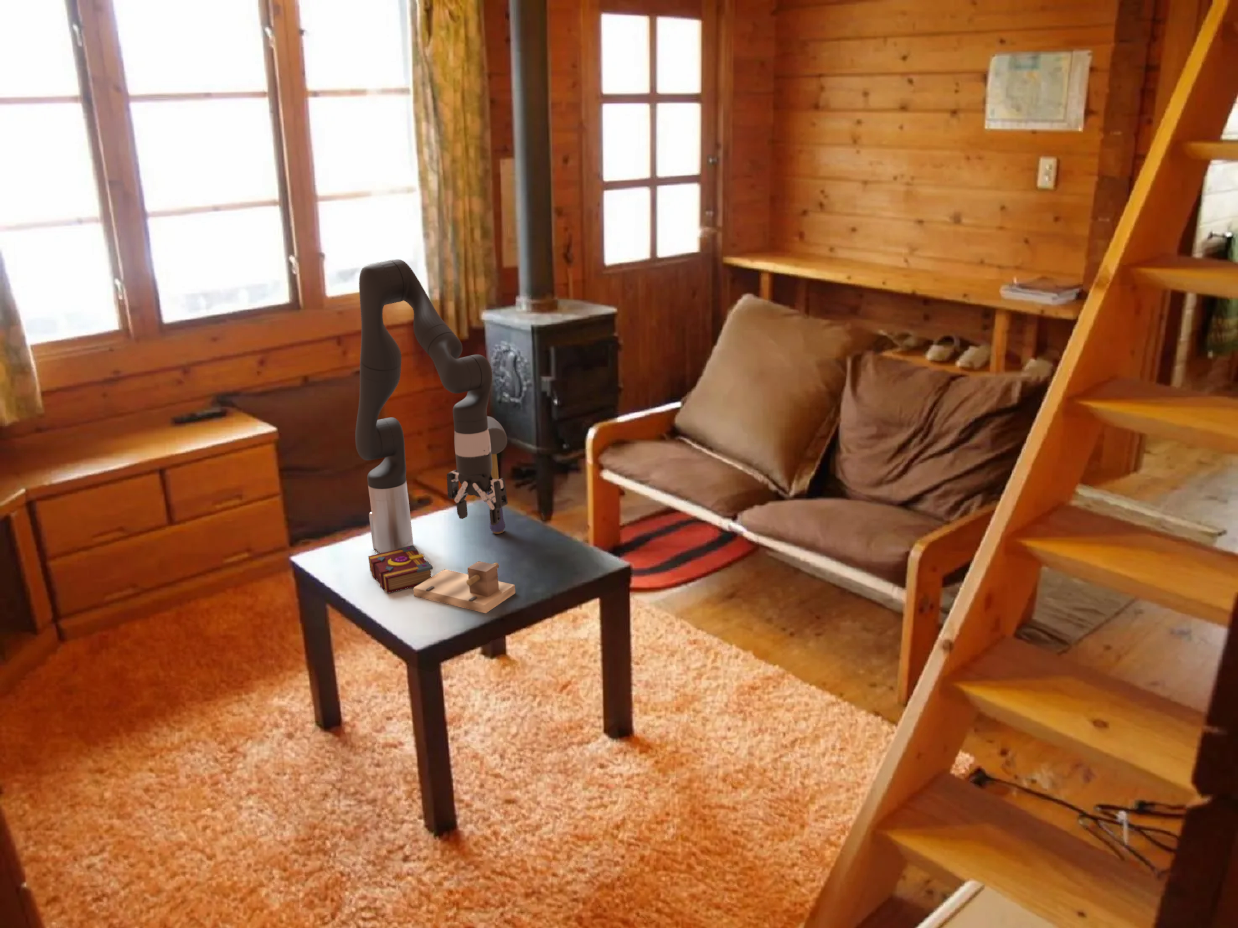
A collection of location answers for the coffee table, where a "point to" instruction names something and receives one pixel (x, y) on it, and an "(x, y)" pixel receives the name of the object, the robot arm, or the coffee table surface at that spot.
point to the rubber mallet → (497, 445)
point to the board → (460, 592)
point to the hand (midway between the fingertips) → (479, 520)
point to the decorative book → (400, 569)
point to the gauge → (483, 578)
